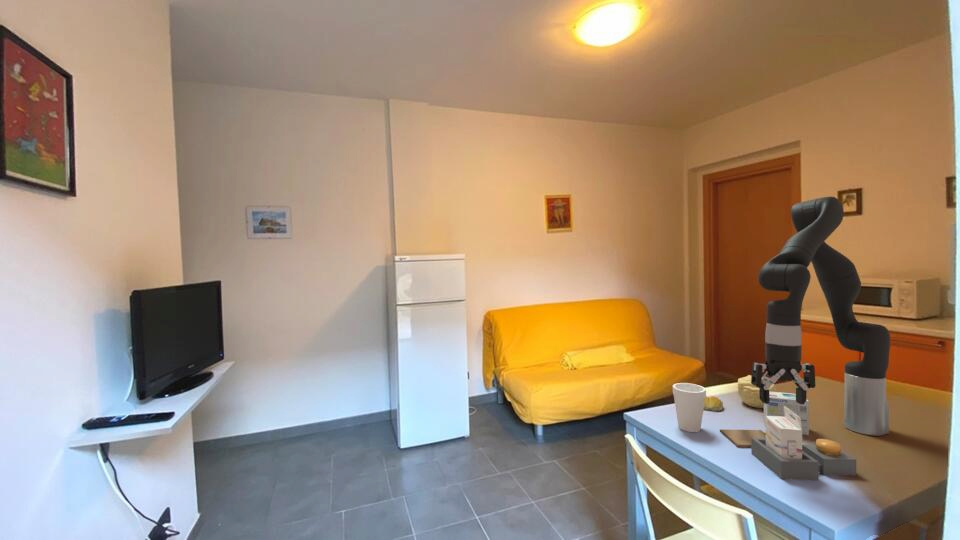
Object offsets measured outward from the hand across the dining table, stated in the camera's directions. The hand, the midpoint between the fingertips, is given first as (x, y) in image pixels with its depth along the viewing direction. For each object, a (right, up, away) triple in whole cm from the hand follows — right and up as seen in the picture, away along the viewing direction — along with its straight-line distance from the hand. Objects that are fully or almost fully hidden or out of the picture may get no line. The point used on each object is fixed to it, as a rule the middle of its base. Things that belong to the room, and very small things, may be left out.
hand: (782, 403), depth 105 cm
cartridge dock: (+6, -16, 0) cm, 17 cm away
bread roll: (+4, -15, +41) cm, 44 cm away
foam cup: (-11, -16, +25) cm, 32 cm away
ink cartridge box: (+1, -17, +1) cm, 17 cm away
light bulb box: (+17, -16, +22) cm, 32 cm away
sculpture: (+22, -15, +42) cm, 50 cm away
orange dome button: (+11, -16, 0) cm, 19 cm away
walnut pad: (+2, -16, +15) cm, 22 cm away
